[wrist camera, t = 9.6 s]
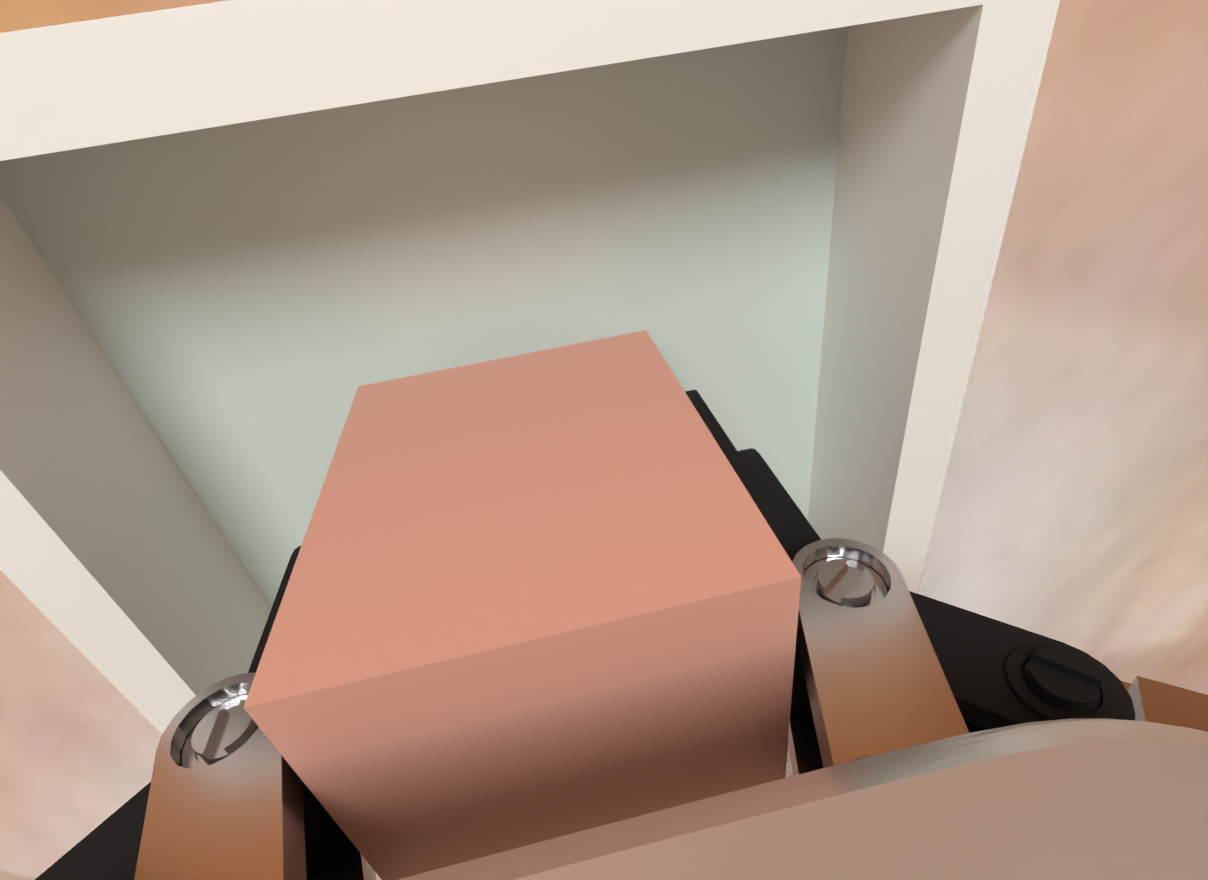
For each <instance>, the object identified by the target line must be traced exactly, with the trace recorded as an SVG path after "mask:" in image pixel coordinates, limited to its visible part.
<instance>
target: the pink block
mask: <svg viewBox="0 0 1208 880" xmlns="http://www.w3.org/2000/svg"><path fill="white" fill-rule="evenodd" d="M800 587H801V575H800V574H799V572H798V571H797V569H796V567H795V566H794V564H793V563H792V561H791V560H790V558H789V556H788V555H787V553H786V552H785V550H784V548H783V547H782V545H781V544H780V542H779V540H778V539H777V537H776V536H775V534H774V533H773V531H772V529H771V528H770V526H769V525H768V523H767V521H766V520H765V518H764V517H763V515H762V513H761V512H760V510H759V509H758V507H757V506H756V504H755V502H754V501H753V499H752V498H751V496H750V494H749V493H748V491H747V490H746V488H745V486H744V485H743V483H742V482H741V480H740V479H739V477H738V475H737V474H736V472H735V471H734V469H733V467H732V466H731V464H730V463H729V461H728V459H727V458H726V456H725V455H724V453H723V452H722V450H721V448H720V447H719V445H718V444H717V442H716V440H715V439H714V437H713V436H712V434H711V432H710V431H709V429H708V428H707V426H706V425H705V423H704V421H703V420H702V418H701V417H700V415H699V413H698V412H697V410H696V409H695V407H694V405H693V404H692V402H691V401H690V399H689V398H688V396H687V394H686V393H685V391H684V390H683V388H682V386H681V385H680V383H679V382H678V380H677V378H676V377H675V375H674V374H673V372H672V371H671V369H670V367H669V366H668V364H667V363H666V361H665V359H664V358H663V356H662V355H661V353H660V351H659V350H658V348H657V347H656V345H655V344H654V342H653V340H652V339H651V337H650V336H649V334H648V332H647V331H646V330H644V331H639V332H634V333H628V334H623V335H618V336H613V337H608V338H603V339H598V340H593V341H588V342H582V343H577V344H572V345H567V346H562V347H557V348H552V349H547V350H542V351H536V352H531V353H526V354H521V355H516V356H511V357H506V358H501V359H496V360H491V361H485V362H480V363H475V364H470V365H465V366H460V367H455V368H450V369H445V370H439V371H434V372H429V373H424V374H419V375H414V376H409V377H404V378H399V379H393V380H388V381H383V382H378V383H373V384H368V385H363V386H358V389H357V391H356V394H355V397H354V400H353V403H352V405H351V408H350V411H349V414H348V417H347V419H346V422H345V425H344V428H343V431H342V433H341V436H340V439H339V442H338V444H337V447H336V450H335V453H334V456H333V458H332V461H331V464H330V467H329V470H328V472H327V475H326V478H325V481H324V484H323V486H322V489H321V492H320V495H319V498H318V500H317V503H316V506H315V509H314V512H313V514H312V517H311V520H310V523H309V526H308V528H307V531H306V534H305V537H304V540H303V542H302V545H301V548H300V551H299V554H298V556H297V559H296V562H295V565H294V568H293V570H292V573H291V576H290V579H289V582H288V584H287V587H286V590H285V593H284V596H283V598H282V601H281V604H280V607H279V610H278V612H277V615H276V618H275V621H274V624H273V626H272V629H271V632H270V635H269V638H268V640H267V643H266V646H265V649H264V651H263V654H262V657H261V660H260V663H259V665H258V668H257V671H256V674H255V677H254V679H253V682H252V685H251V688H250V691H249V693H248V696H247V699H246V702H245V705H244V707H243V708H244V709H245V710H246V712H247V713H248V714H249V715H250V717H251V718H252V719H253V720H254V722H255V723H256V724H257V725H258V726H259V728H260V729H261V730H262V731H263V733H264V734H265V735H266V736H267V738H268V739H269V740H270V741H271V743H272V744H273V745H274V746H275V748H276V749H277V750H278V751H279V753H280V754H281V755H282V756H283V758H284V759H285V760H286V761H287V762H288V764H289V765H290V766H291V767H292V769H293V770H294V771H295V772H296V774H297V775H298V776H299V777H300V779H301V780H302V781H303V782H304V784H305V785H306V786H307V787H308V789H309V790H310V791H311V792H312V793H313V795H314V796H315V797H316V798H317V800H318V801H319V802H320V803H321V805H322V806H323V807H324V808H325V810H326V811H327V812H328V813H329V815H330V816H331V817H332V818H333V820H334V821H335V822H336V823H337V825H338V826H339V827H340V828H341V829H342V831H343V832H344V833H345V834H346V836H347V837H348V838H349V839H350V841H351V842H352V843H353V844H354V846H355V847H356V848H357V849H358V851H359V852H360V853H361V854H362V856H363V857H364V858H365V859H366V860H367V862H368V863H369V864H370V865H371V867H372V868H373V869H374V870H375V872H376V873H377V874H378V875H379V877H380V878H381V879H382V880H398V879H402V878H406V877H410V876H413V875H417V874H421V873H425V872H428V871H432V870H436V869H440V868H443V867H447V866H451V865H455V864H458V863H462V862H466V861H470V860H474V859H477V858H481V857H485V856H489V855H492V854H496V853H500V852H504V851H508V850H511V849H515V848H519V847H523V846H527V845H530V844H534V843H538V842H542V841H545V840H549V839H553V838H557V837H561V836H564V835H568V834H572V833H576V832H580V831H583V830H587V829H591V828H595V827H599V826H603V825H606V824H610V823H614V822H618V821H622V820H625V819H629V818H633V817H637V816H641V815H644V814H648V813H652V812H656V811H660V810H663V809H667V808H671V807H675V806H679V805H683V804H687V803H690V802H694V801H698V800H702V799H706V798H710V797H714V796H718V795H722V794H725V793H729V792H733V791H737V790H741V789H745V788H749V787H753V786H756V785H760V784H764V783H768V782H772V781H776V780H780V779H784V778H785V772H786V760H787V747H788V735H789V723H790V710H791V698H792V686H793V673H794V661H795V648H796V636H797V624H798V611H799V599H800Z"/></svg>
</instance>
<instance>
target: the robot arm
mask: <svg viewBox="0 0 1208 880" xmlns="http://www.w3.org/2000/svg"><path fill="white" fill-rule="evenodd" d="M685 393H686V394H687V396H688V398H689V399H690V401H691V402H692V404H693V405H694V407H695V409H696V410H697V412H698V413H699V415H700V417H701V418H702V420H703V421H704V423H705V425H706V426H707V428H708V429H709V431H710V432H711V434H712V436H713V437H714V439H715V440H716V442H717V444H718V445H719V447H720V448H721V450H722V452H723V453H724V455H725V456H726V458H727V459H728V461H729V463H730V464H731V466H732V467H733V469H734V471H735V472H736V474H737V475H738V477H739V479H740V480H741V482H742V483H743V485H744V486H745V488H746V490H747V491H748V493H749V494H750V496H751V498H752V499H753V501H754V502H755V504H756V506H757V507H758V509H759V510H760V512H761V513H762V515H763V517H764V518H765V520H766V521H767V523H768V525H769V526H770V528H771V529H772V531H773V533H774V534H775V536H776V537H777V539H778V540H779V542H780V544H781V545H782V547H783V548H784V550H785V552H786V553H787V555H788V556H789V558H790V560H791V561H792V563H793V564H794V566H795V567H796V569H797V571H798V572H799V574H800V575H801V587H800V599H799V611H798V624H797V636H796V648H795V661H794V673H793V686H792V698H791V710H790V723H789V735H788V745H789V751H790V757H791V763H792V769H793V775H794V776H791V777H787V778H784V779H780V780H776V781H772V782H768V783H764V784H760V785H756V786H753V787H749V788H745V789H741V790H737V791H733V792H729V793H725V794H722V795H718V796H714V797H710V798H706V799H702V800H698V801H694V802H690V803H687V804H683V805H679V806H675V807H671V808H667V809H663V810H660V811H656V812H652V813H648V814H644V815H641V816H637V817H633V818H629V819H625V820H622V821H618V822H614V823H610V824H606V825H603V826H599V827H595V828H591V829H587V830H583V831H580V832H576V833H572V834H568V835H564V836H561V837H557V838H553V839H549V840H545V841H542V842H538V843H534V844H530V845H527V846H523V847H519V848H515V849H511V850H508V851H504V852H500V853H496V854H492V855H489V856H485V857H481V858H477V859H474V860H470V861H466V862H462V863H458V864H455V865H451V866H447V867H443V868H440V869H436V870H432V871H428V872H425V873H421V874H417V875H413V876H410V877H406V878H402V879H398V880H1208V695H1206V694H1202V693H1198V692H1195V691H1191V690H1187V689H1183V688H1180V687H1176V686H1172V685H1169V684H1165V683H1161V682H1157V681H1154V680H1150V679H1146V678H1143V677H1139V676H1136V678H1135V680H1134V681H1133V683H1132V684H1130V683H1126V682H1123V681H1120V680H1119V679H1118V678H1117V677H1116V676H1115V675H1114V674H1113V673H1112V672H1111V671H1110V670H1109V669H1108V668H1107V667H1106V666H1105V665H1103V664H1102V663H1100V662H1099V661H1097V660H1096V659H1094V658H1093V657H1091V656H1090V655H1088V654H1087V653H1085V652H1083V651H1081V650H1079V649H1076V648H1074V647H1072V646H1070V645H1067V644H1065V643H1063V642H1060V641H1057V640H1054V639H1051V638H1048V637H1045V636H1042V635H1039V634H1036V633H1033V632H1030V631H1027V630H1024V629H1021V628H1018V627H1015V626H1012V625H1009V624H1006V623H1003V622H1000V621H997V620H994V619H991V618H988V617H985V616H982V615H979V614H976V613H973V612H970V611H967V610H964V609H961V608H958V607H955V606H952V605H949V604H946V603H943V602H940V601H937V600H934V599H931V598H928V597H925V596H922V595H919V594H916V593H914V592H911V591H909V590H908V588H907V585H906V583H905V581H904V578H903V576H902V574H901V572H900V571H899V569H898V568H897V566H896V564H895V563H894V561H892V560H891V559H890V558H889V557H888V556H886V555H885V554H884V553H883V552H882V551H880V550H878V549H876V548H874V547H872V546H870V545H868V544H866V543H862V542H859V541H855V540H851V539H841V538H830V539H823V540H821V538H820V537H819V536H818V534H817V533H816V532H815V530H814V529H813V527H812V526H811V525H810V523H809V522H808V520H807V519H806V518H805V516H804V515H803V513H802V512H801V511H800V509H799V508H798V506H797V505H796V504H795V502H794V501H793V499H792V498H791V497H790V495H789V494H788V493H787V491H786V490H785V488H784V487H783V486H782V484H781V483H780V481H779V480H778V479H777V477H776V476H775V474H774V473H773V472H772V470H771V469H770V467H769V466H768V465H767V463H766V462H765V460H764V459H763V458H762V456H761V455H760V454H759V453H758V452H757V450H756V449H753V448H750V449H745V450H740V451H737V450H736V448H735V447H734V445H733V444H732V442H731V441H730V439H729V438H728V436H727V435H726V433H725V432H724V430H723V429H722V427H721V426H720V424H719V423H718V421H717V420H716V418H715V417H714V415H713V414H712V412H711V411H710V409H709V408H708V406H707V405H706V403H705V402H704V400H703V399H702V397H701V396H700V394H699V393H698V391H697V390H690V391H685ZM300 548H301V546H299V547H297V548H296V549H295V550H294V551H293V553H292V555H291V557H290V560H289V563H288V565H287V568H286V571H285V573H284V576H283V579H282V581H281V584H280V587H279V590H278V592H277V595H276V598H275V600H274V603H273V606H272V609H271V611H270V614H269V617H268V619H267V622H266V625H265V627H264V630H263V633H262V636H261V638H260V641H259V644H258V646H257V649H256V652H255V654H254V657H253V660H252V663H251V665H250V668H249V671H248V673H242V674H238V675H235V676H232V677H229V678H226V679H223V680H221V681H219V682H217V683H215V684H214V685H212V686H210V687H208V688H206V689H205V690H203V691H202V692H201V693H199V694H198V695H197V696H195V697H194V698H193V699H191V700H190V701H189V702H188V703H187V704H186V705H185V706H184V707H183V708H182V709H181V710H180V711H179V712H178V713H177V714H176V715H175V716H174V717H173V719H172V720H171V722H170V723H169V725H168V726H167V728H166V729H165V731H164V733H163V734H162V736H161V739H160V742H159V745H158V748H157V751H156V756H155V762H154V768H153V773H152V779H151V782H150V783H149V784H148V785H146V786H145V787H144V788H143V789H142V790H141V791H139V792H138V793H137V794H136V795H135V796H133V797H132V798H131V799H130V800H129V801H128V802H126V803H125V804H124V805H123V806H122V807H120V808H119V809H118V810H117V811H116V812H115V813H113V814H112V815H111V816H110V817H109V818H107V819H106V820H105V821H104V822H103V823H102V824H100V825H99V826H98V827H97V828H96V829H94V830H93V831H92V832H91V833H90V834H89V835H87V836H86V837H85V838H84V839H83V840H81V841H80V842H79V843H78V844H77V845H75V846H74V847H73V848H72V849H71V850H70V851H68V852H67V853H66V854H65V855H64V856H62V857H61V858H60V859H59V860H58V861H57V862H55V863H54V864H53V865H52V866H51V867H49V868H48V869H47V870H46V871H45V872H44V873H42V874H41V875H40V876H39V877H38V878H36V879H35V880H376V875H375V870H374V869H373V868H372V867H371V865H370V864H369V863H368V862H367V860H366V859H365V858H364V857H363V856H362V854H361V853H360V852H359V851H358V849H357V848H356V847H355V846H354V844H353V843H352V842H351V841H350V839H349V838H348V837H347V836H346V834H345V833H344V832H343V831H342V829H341V828H340V827H339V826H338V825H337V823H336V822H335V821H334V820H333V818H332V817H331V816H330V815H329V813H328V812H327V811H326V810H325V808H324V807H323V806H322V805H321V803H320V802H319V801H318V800H317V798H316V797H315V796H314V795H313V793H312V792H311V791H310V790H309V789H308V787H307V786H306V785H305V784H304V782H303V781H302V780H301V779H300V777H299V776H298V775H297V774H296V772H295V771H294V770H293V769H292V767H291V766H290V765H289V764H288V762H287V761H286V760H285V759H284V758H283V756H282V755H281V754H280V753H279V751H278V750H277V749H276V748H275V746H274V745H273V744H272V743H271V741H270V740H269V739H268V738H267V736H266V735H265V734H264V733H263V731H262V730H261V729H260V728H259V726H258V725H257V724H256V723H255V722H254V720H253V719H252V718H251V717H250V715H249V714H248V713H247V712H246V710H245V709H244V708H243V707H244V705H245V702H246V699H247V696H248V693H249V691H250V688H251V685H252V682H253V679H254V677H255V674H256V671H257V668H258V665H259V663H260V660H261V657H262V654H263V651H264V649H265V646H266V643H267V640H268V638H269V635H270V632H271V629H272V626H273V624H274V621H275V618H276V615H277V612H278V610H279V607H280V604H281V601H282V598H283V596H284V593H285V590H286V587H287V584H288V582H289V579H290V576H291V573H292V570H293V568H294V565H295V562H296V559H297V556H298V554H299V551H300Z"/></svg>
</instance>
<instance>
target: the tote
mask: <svg viewBox="0 0 1208 880" xmlns="http://www.w3.org/2000/svg"><path fill="white" fill-rule="evenodd" d="M1059 2H1060V0H228V1H221V2H214V3H207V4H200V5H193V6H186V7H179V8H172V9H165V10H158V11H151V12H144V13H137V14H130V15H123V16H116V17H109V18H102V19H95V20H88V21H81V22H74V23H67V24H60V25H53V26H46V27H39V28H32V29H25V30H18V31H11V32H4V33H0V570H1V571H2V572H3V573H4V574H5V575H6V576H7V577H8V578H9V579H10V580H11V581H12V582H13V583H14V584H15V585H16V586H17V587H18V588H19V589H20V590H21V592H22V593H23V594H24V595H25V596H26V597H27V598H28V599H29V600H30V601H31V602H32V603H33V604H34V605H35V606H36V607H37V608H38V609H39V610H40V611H41V612H42V613H43V614H44V615H45V616H46V617H47V618H48V619H49V620H50V621H51V622H52V623H53V624H54V625H55V626H56V627H57V628H58V629H59V630H60V631H61V632H62V633H63V634H64V635H65V636H66V637H67V638H68V639H69V640H70V641H71V642H72V643H73V644H74V645H75V646H76V647H77V648H78V650H79V651H80V652H81V653H82V654H83V655H84V656H85V657H86V658H87V659H88V660H89V661H90V662H91V663H92V664H93V665H94V666H95V667H96V668H97V669H98V670H99V671H100V672H101V673H102V674H103V675H104V676H105V677H106V678H107V679H108V680H109V681H110V682H111V683H112V684H113V685H114V686H115V687H116V688H117V689H118V690H119V691H120V692H121V693H122V694H123V695H124V696H125V697H126V698H127V699H128V700H129V701H130V702H131V703H132V704H133V705H134V706H135V708H136V709H137V710H138V711H139V712H140V713H141V714H142V715H143V716H144V717H145V718H146V719H147V720H148V721H149V722H150V723H151V724H152V725H153V726H154V727H155V728H156V729H157V730H158V731H159V732H160V733H161V734H163V733H164V731H165V729H166V728H167V726H168V725H169V723H170V722H171V720H172V719H173V717H174V716H175V715H176V714H177V713H178V712H179V711H180V710H181V709H182V708H183V707H184V706H185V705H186V704H187V703H188V702H189V701H190V700H191V699H193V698H194V697H195V696H197V695H198V694H199V693H201V692H202V691H203V690H205V689H206V688H208V687H210V686H212V685H214V684H215V683H217V682H219V681H221V680H223V679H226V678H229V677H232V676H235V675H238V674H242V673H248V671H249V668H250V665H251V663H252V660H253V657H254V654H255V652H256V649H257V646H258V644H259V641H260V638H261V636H262V633H263V630H264V627H265V625H266V622H267V619H268V617H269V614H270V611H271V609H272V606H273V603H274V600H275V598H276V595H277V592H278V590H279V587H280V584H281V581H282V579H283V576H284V573H285V571H286V568H287V565H288V563H289V560H290V557H291V555H292V553H293V551H294V550H295V549H296V548H297V547H299V546H301V545H302V542H303V540H304V537H305V534H306V531H307V528H308V526H309V523H310V520H311V517H312V514H313V512H314V509H315V506H316V503H317V500H318V498H319V495H320V492H321V489H322V486H323V484H324V481H325V478H326V475H327V472H328V470H329V467H330V464H331V461H332V458H333V456H334V453H335V450H336V447H337V444H338V442H339V439H340V436H341V433H342V431H343V428H344V425H345V422H346V419H347V417H348V414H349V411H350V408H351V405H352V403H353V400H354V397H355V394H356V391H357V389H358V386H363V385H368V384H373V383H378V382H383V381H388V380H393V379H399V378H404V377H409V376H414V375H419V374H424V373H429V372H434V371H439V370H445V369H450V368H455V367H460V366H465V365H470V364H475V363H480V362H485V361H491V360H496V359H501V358H506V357H511V356H516V355H521V354H526V353H531V352H536V351H542V350H547V349H552V348H557V347H562V346H567V345H572V344H577V343H582V342H588V341H593V340H598V339H603V338H608V337H613V336H618V335H623V334H628V333H634V332H639V331H644V330H646V331H647V332H648V334H649V336H650V337H651V339H652V340H653V342H654V344H655V345H656V347H657V348H658V350H659V351H660V353H661V355H662V356H663V358H664V359H665V361H666V363H667V364H668V366H669V367H670V369H671V371H672V372H673V374H674V375H675V377H676V378H677V380H678V382H679V383H680V385H681V386H682V388H683V390H684V391H690V390H697V391H698V393H699V394H700V396H701V397H702V399H703V400H704V402H705V403H706V405H707V406H708V408H709V409H710V411H711V412H712V414H713V415H714V417H715V418H716V420H717V421H718V423H719V424H720V426H721V427H722V429H723V430H724V432H725V433H726V435H727V436H728V438H729V439H730V441H731V442H732V444H733V445H734V447H735V448H736V450H737V451H740V450H745V449H750V448H753V449H756V450H757V452H758V453H759V454H760V455H761V456H762V458H763V459H764V460H765V462H766V463H767V465H768V466H769V467H770V469H771V470H772V472H773V473H774V474H775V476H776V477H777V479H778V480H779V481H780V483H781V484H782V486H783V487H784V488H785V490H786V491H787V493H788V494H789V495H790V497H791V498H792V499H793V501H794V502H795V504H796V505H797V506H798V508H799V509H800V511H801V512H802V513H803V515H804V516H805V518H806V519H807V520H808V522H809V523H810V525H811V526H812V527H813V529H814V530H815V532H816V533H817V534H818V536H819V537H820V538H821V540H823V539H830V538H841V539H851V540H855V541H859V542H862V543H866V544H868V545H870V546H872V547H874V548H876V549H878V550H880V551H882V552H883V553H884V554H885V555H886V556H888V557H889V558H890V559H891V560H892V561H894V563H895V564H896V566H897V568H898V569H899V571H900V572H901V574H902V576H903V578H904V581H905V583H906V585H907V588H908V590H909V591H911V592H914V593H916V594H917V593H918V588H919V584H920V580H921V576H922V572H923V568H924V564H925V559H926V555H927V551H928V547H929V543H930V539H931V534H932V530H933V526H934V522H935V518H936V514H937V509H938V505H939V501H940V497H941V493H942V489H943V485H944V480H945V476H946V472H947V468H948V464H949V460H950V455H951V451H952V447H953V443H954V439H955V435H956V430H957V426H958V422H959V418H960V414H961V410H962V406H963V401H964V397H965V393H966V389H967V385H968V381H969V376H970V372H971V368H972V364H973V360H974V356H975V351H976V347H977V343H978V339H979V335H980V331H981V327H982V322H983V318H984V314H985V310H986V306H987V302H988V297H989V293H990V289H991V285H992V281H993V277H994V273H995V268H996V264H997V260H998V256H999V252H1000V248H1001V243H1002V239H1003V235H1004V231H1005V227H1006V223H1007V218H1008V214H1009V210H1010V206H1011V202H1012V198H1013V194H1014V189H1015V185H1016V181H1017V177H1018V173H1019V169H1020V164H1021V160H1022V156H1023V152H1024V148H1025V144H1026V139H1027V135H1028V131H1029V127H1030V123H1031V119H1032V115H1033V110H1034V106H1035V102H1036V98H1037V94H1038V90H1039V85H1040V81H1041V77H1042V73H1043V69H1044V65H1045V60H1046V56H1047V52H1048V48H1049V44H1050V40H1051V36H1052V31H1053V27H1054V23H1055V19H1056V15H1057V11H1058V6H1059Z"/></svg>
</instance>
